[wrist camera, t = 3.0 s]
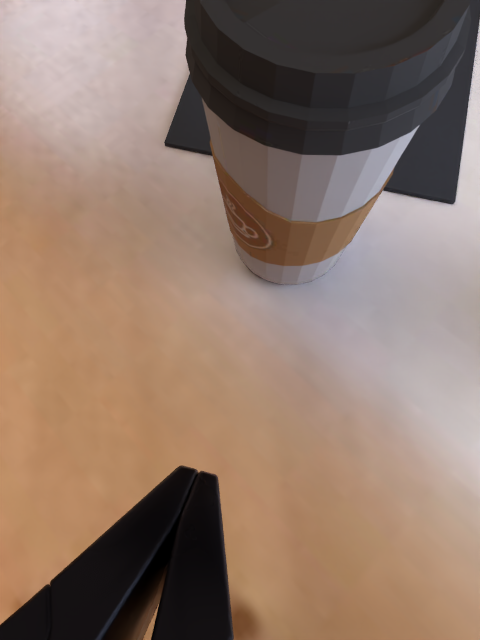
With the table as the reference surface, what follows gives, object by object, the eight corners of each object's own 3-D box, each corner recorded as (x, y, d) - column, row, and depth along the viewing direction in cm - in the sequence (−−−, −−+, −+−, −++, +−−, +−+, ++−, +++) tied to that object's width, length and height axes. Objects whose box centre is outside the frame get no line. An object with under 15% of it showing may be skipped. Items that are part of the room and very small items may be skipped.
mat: (452, 204, 26) (455, 201, 26) (165, 145, 28) (164, 142, 28) (487, -51, 32) (489, -55, 32) (250, -85, 34) (250, -90, 34)
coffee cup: (189, 224, 26) (114, -57, 12) (301, 154, 27) (354, -176, 13) (272, 333, 24) (302, 153, 10) (390, 252, 25) (568, -14, 11)
